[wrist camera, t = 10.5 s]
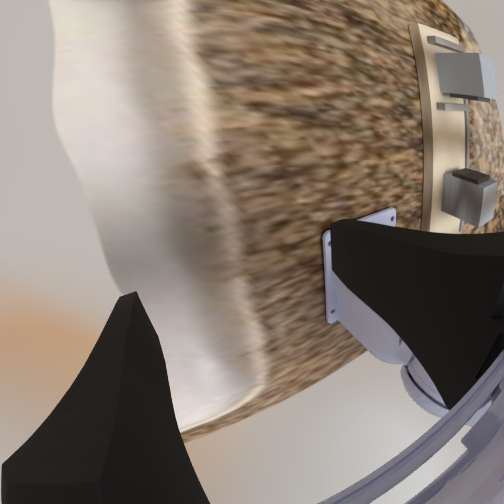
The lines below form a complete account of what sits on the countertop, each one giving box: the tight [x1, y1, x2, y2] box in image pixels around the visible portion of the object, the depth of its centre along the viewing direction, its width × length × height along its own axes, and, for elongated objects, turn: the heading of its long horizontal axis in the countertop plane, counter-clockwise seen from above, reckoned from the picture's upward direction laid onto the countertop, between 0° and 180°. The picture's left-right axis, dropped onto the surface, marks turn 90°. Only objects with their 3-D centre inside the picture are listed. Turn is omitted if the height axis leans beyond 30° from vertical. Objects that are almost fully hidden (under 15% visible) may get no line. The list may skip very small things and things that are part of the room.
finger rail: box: [408, 23, 498, 234], centre depth 21 cm, size 24×8×6 cm, turn 13°
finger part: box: [435, 53, 498, 102], centre depth 17 cm, size 4×4×5 cm
